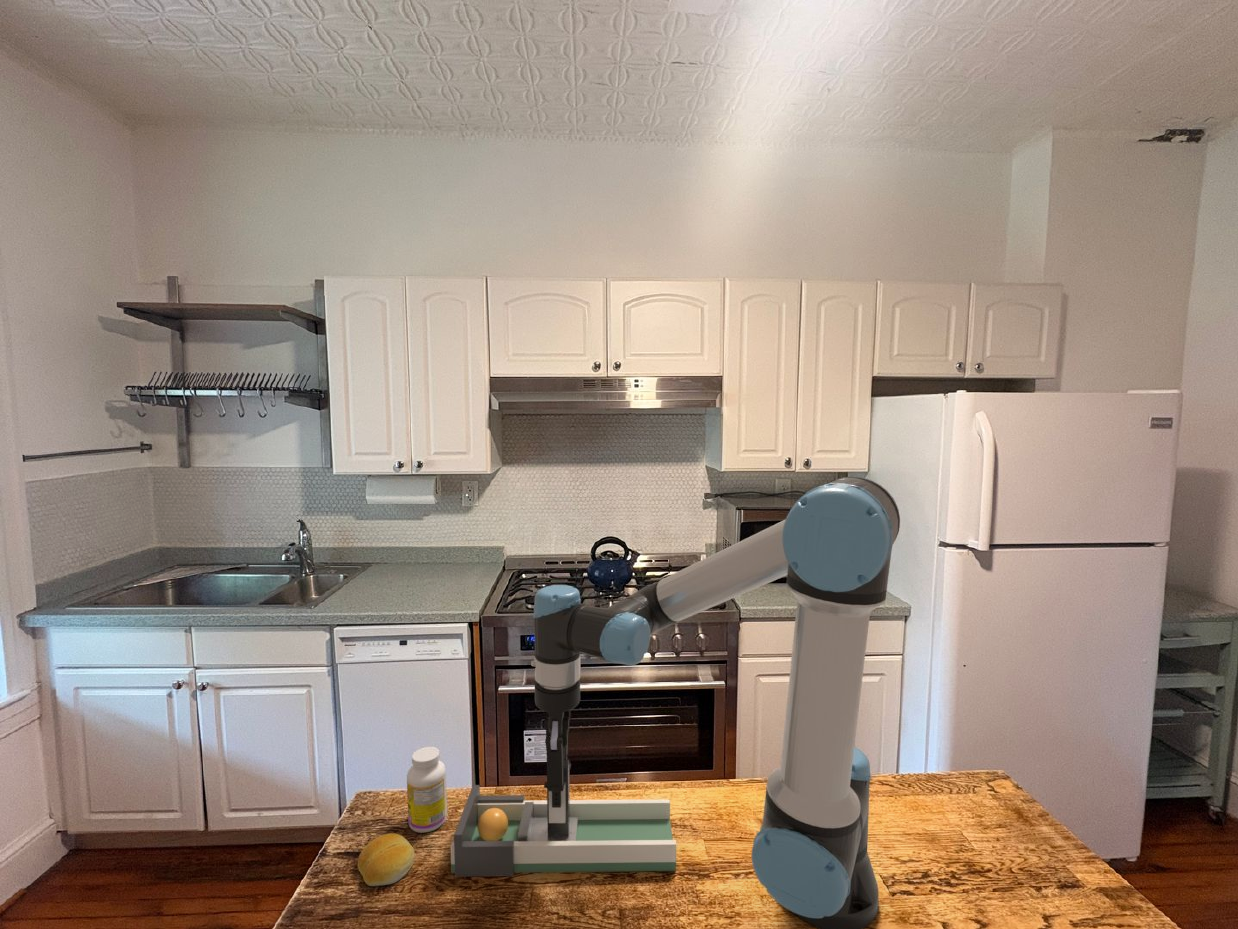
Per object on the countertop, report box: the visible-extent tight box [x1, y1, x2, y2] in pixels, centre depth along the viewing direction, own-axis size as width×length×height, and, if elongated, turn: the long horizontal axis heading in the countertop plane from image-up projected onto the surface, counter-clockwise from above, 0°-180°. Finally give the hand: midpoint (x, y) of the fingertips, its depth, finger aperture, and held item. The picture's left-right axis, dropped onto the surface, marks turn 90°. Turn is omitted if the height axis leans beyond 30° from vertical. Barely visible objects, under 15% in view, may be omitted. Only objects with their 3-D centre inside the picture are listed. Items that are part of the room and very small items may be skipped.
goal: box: [453, 784, 526, 878], centre depth 98 cm, size 9×12×7 cm
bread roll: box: [357, 832, 416, 887], centre depth 94 cm, size 8×9×4 cm
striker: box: [518, 759, 578, 841], centre depth 98 cm, size 9×8×13 cm
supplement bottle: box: [406, 746, 448, 834], centre depth 104 cm, size 7×7×13 cm
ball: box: [478, 808, 508, 841], centre depth 98 cm, size 5×5×5 cm
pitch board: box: [450, 798, 677, 874], centre depth 98 cm, size 36×11×4 cm, turn 91°
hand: (558, 814), depth 98 cm, fingers closed on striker, 2 cm apart
